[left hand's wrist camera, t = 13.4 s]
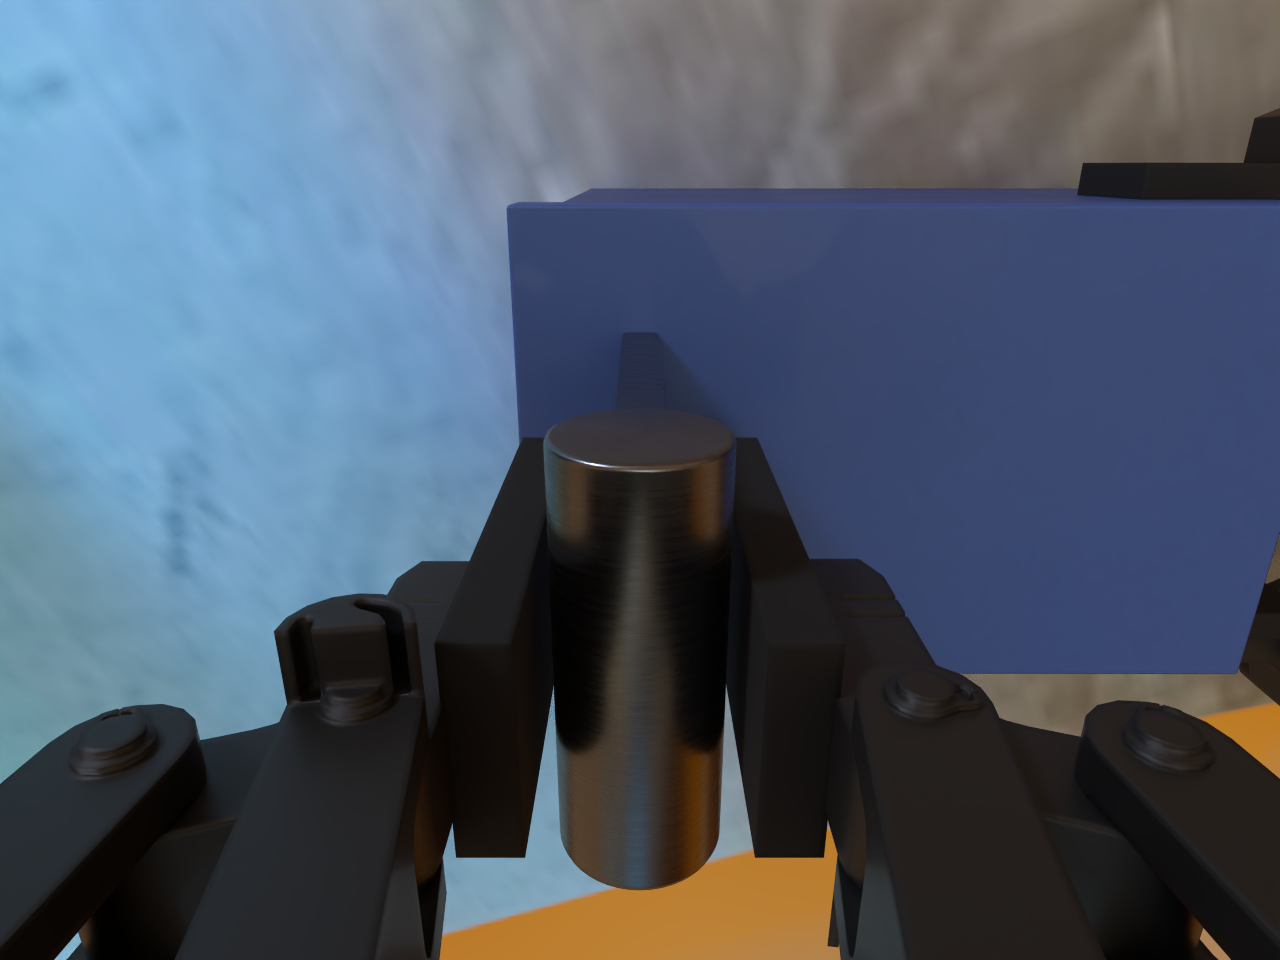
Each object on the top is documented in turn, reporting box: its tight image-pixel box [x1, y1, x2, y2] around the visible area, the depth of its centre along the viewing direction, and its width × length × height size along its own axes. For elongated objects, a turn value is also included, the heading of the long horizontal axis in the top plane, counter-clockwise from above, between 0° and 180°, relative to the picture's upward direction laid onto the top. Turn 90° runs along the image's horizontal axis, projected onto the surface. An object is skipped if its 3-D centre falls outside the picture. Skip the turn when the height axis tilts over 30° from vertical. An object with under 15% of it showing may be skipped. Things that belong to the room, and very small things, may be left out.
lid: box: [507, 202, 1280, 890], centre depth 14 cm, size 16×10×9 cm, turn 90°
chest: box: [565, 189, 1280, 203], centre depth 23 cm, size 15×10×10 cm, turn 90°
